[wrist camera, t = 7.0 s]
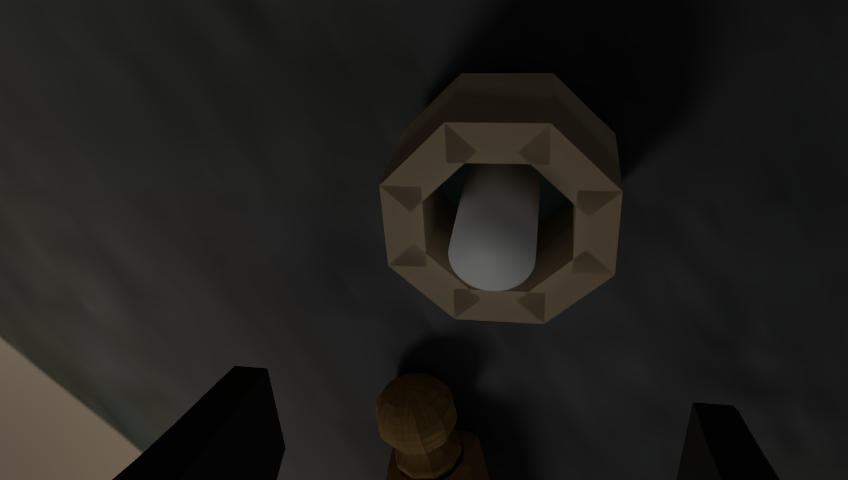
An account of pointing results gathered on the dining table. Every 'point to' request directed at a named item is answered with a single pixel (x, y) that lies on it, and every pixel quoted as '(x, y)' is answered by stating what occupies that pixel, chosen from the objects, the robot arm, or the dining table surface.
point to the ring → (506, 144)
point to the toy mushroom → (497, 222)
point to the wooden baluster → (426, 431)
